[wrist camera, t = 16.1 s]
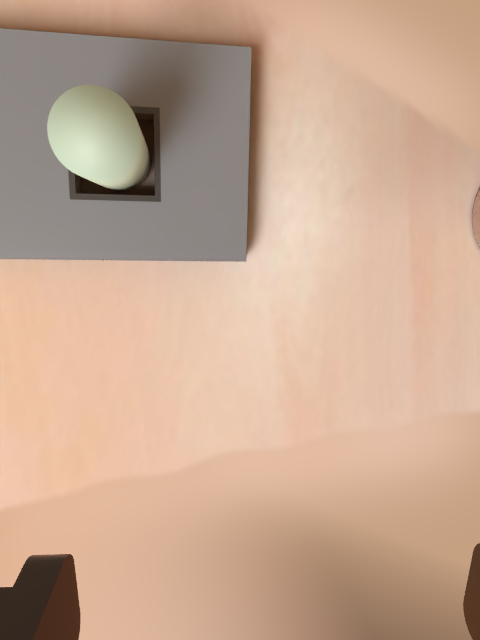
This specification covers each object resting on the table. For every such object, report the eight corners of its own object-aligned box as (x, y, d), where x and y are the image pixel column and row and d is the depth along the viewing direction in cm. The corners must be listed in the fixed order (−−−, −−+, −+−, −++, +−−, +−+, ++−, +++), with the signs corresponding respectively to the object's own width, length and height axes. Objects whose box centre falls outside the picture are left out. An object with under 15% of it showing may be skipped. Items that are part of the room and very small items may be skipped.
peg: (149, 127, 32) (138, 87, 22) (151, 192, 33) (140, 181, 23) (84, 123, 31) (44, 81, 22) (87, 190, 32) (50, 178, 23)
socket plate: (247, 57, 32) (251, 47, 30) (242, 259, 35) (246, 261, 33) (-30, 37, 29) (-44, 24, 28) (-9, 256, 32) (-21, 258, 31)
